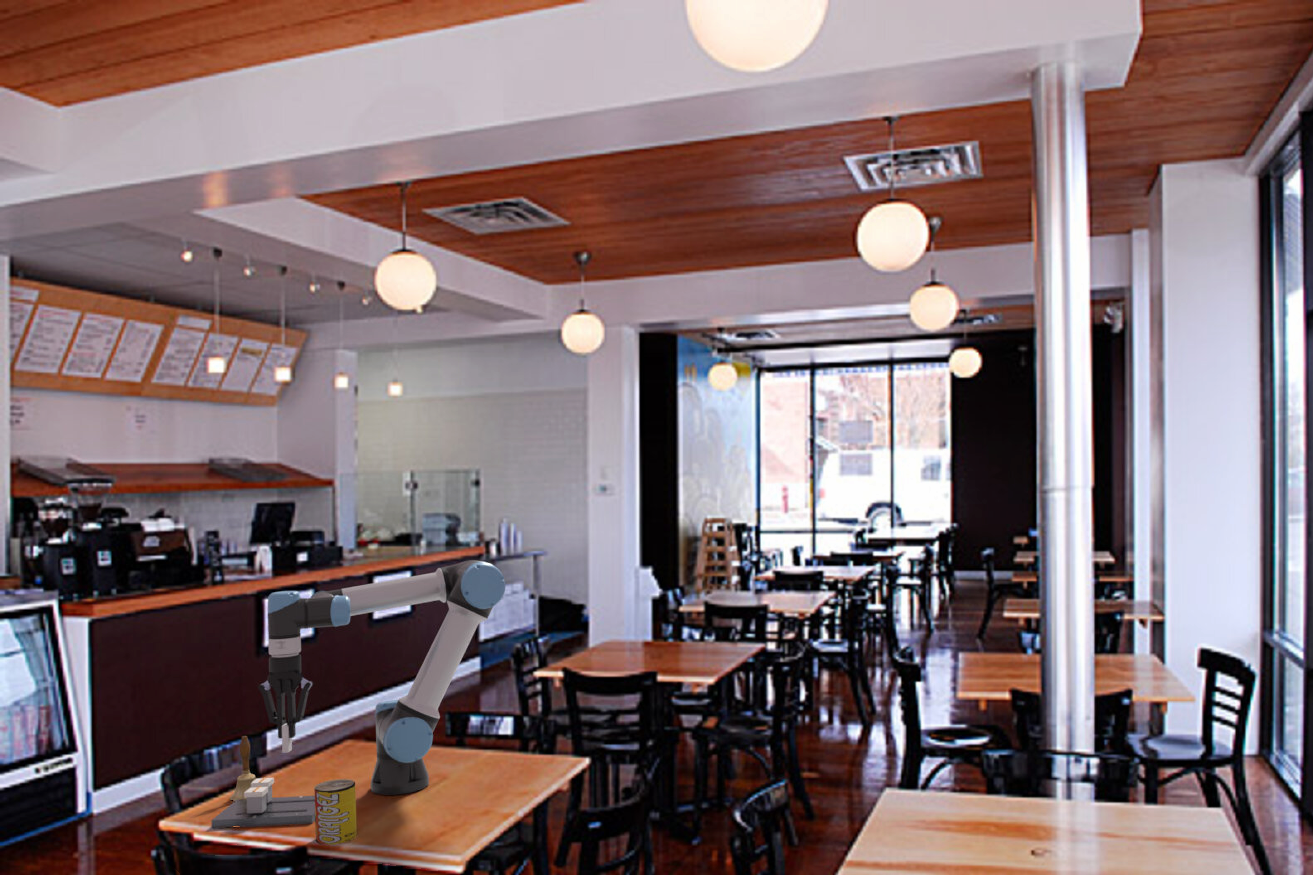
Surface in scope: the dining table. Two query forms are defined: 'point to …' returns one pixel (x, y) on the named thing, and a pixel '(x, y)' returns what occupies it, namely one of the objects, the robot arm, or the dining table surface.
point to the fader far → (264, 783)
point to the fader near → (256, 799)
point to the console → (268, 813)
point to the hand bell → (246, 777)
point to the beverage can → (335, 811)
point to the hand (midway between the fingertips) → (287, 751)
